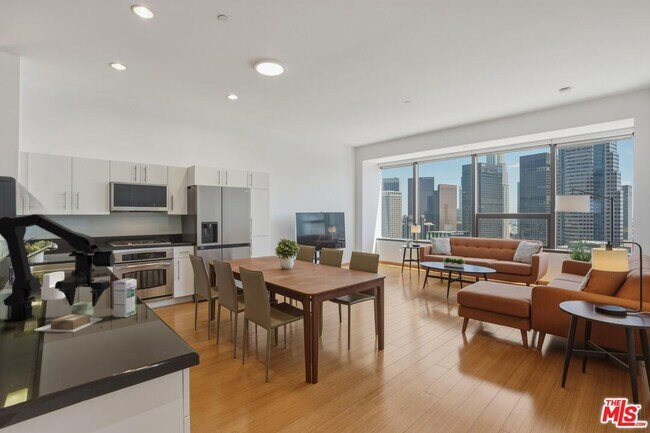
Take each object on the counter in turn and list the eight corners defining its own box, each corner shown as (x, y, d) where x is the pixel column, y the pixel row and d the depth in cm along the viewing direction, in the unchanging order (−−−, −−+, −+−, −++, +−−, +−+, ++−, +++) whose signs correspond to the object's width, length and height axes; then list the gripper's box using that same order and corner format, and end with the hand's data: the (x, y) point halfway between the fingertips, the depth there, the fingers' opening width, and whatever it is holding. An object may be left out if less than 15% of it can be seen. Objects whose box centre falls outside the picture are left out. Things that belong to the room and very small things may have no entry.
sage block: (71, 317, 127) (71, 304, 127) (81, 313, 132) (81, 301, 132) (83, 317, 126) (84, 305, 127) (93, 314, 132) (93, 301, 132)
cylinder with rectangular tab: (54, 300, 150) (55, 274, 150) (35, 299, 150) (36, 274, 150) (70, 295, 159) (70, 271, 159) (52, 295, 159) (53, 271, 159)
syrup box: (125, 317, 127) (126, 281, 127) (112, 316, 129) (113, 280, 129) (136, 313, 133) (137, 278, 133) (124, 312, 134) (125, 278, 134)
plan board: (33, 331, 111) (34, 320, 111) (67, 318, 125) (67, 309, 125) (73, 332, 111) (73, 322, 111) (102, 319, 125) (102, 310, 125)
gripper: (42, 269, 121) (41, 311, 121) (91, 271, 121) (90, 312, 121) (67, 265, 132) (66, 303, 132) (111, 266, 132) (110, 304, 132)
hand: (82, 306), depth 129 cm, fingers open, 9 cm apart
